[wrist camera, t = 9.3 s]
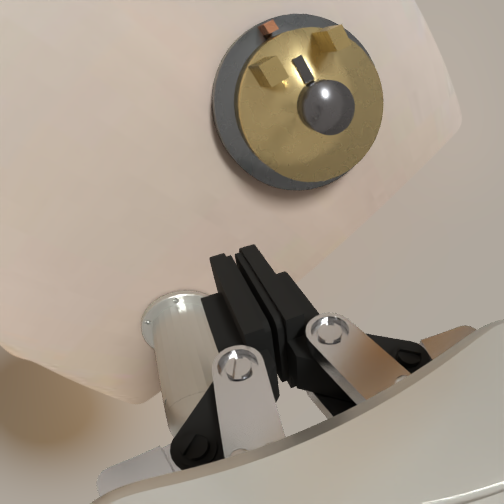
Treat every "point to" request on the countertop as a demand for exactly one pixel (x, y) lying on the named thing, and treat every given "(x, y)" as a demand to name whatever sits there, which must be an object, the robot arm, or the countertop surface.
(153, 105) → the countertop surface
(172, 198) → the countertop surface
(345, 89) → the lugged brass disc
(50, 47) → the countertop surface
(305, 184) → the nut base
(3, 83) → the countertop surface
